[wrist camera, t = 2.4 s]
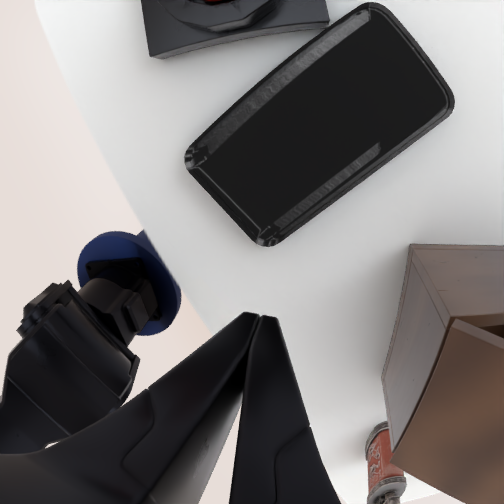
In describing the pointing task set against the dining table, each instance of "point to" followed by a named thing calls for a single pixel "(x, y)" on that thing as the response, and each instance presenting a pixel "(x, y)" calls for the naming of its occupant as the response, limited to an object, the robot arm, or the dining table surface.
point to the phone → (320, 124)
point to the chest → (437, 318)
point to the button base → (224, 21)
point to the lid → (461, 420)
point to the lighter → (383, 469)
